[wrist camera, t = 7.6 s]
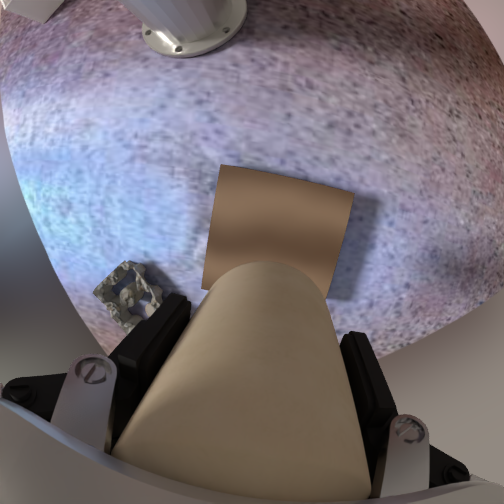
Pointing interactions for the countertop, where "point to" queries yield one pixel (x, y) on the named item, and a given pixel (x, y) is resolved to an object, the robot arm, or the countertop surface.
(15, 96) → the countertop surface
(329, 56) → the countertop surface
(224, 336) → the candle
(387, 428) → the robot arm
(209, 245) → the plinth
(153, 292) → the egg carton
